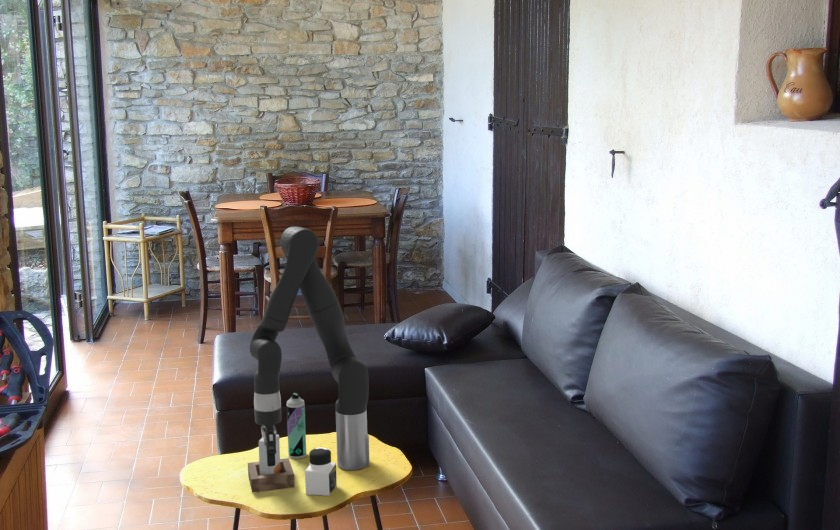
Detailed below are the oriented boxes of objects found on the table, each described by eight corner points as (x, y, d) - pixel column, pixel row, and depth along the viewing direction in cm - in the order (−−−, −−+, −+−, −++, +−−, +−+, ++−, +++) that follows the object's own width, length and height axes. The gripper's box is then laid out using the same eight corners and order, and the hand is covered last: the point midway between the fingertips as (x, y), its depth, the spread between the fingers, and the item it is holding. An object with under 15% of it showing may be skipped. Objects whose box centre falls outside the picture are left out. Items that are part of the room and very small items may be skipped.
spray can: (291, 451, 279) (288, 390, 275) (308, 452, 278) (306, 391, 275) (286, 458, 274) (283, 396, 270) (303, 459, 273) (301, 396, 269)
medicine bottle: (330, 496, 247) (328, 455, 245) (305, 494, 249) (303, 454, 246) (337, 485, 254) (335, 445, 252) (312, 484, 255) (311, 444, 253)
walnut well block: (289, 470, 265) (288, 458, 264) (294, 487, 253) (294, 474, 253) (248, 475, 262) (247, 462, 261) (252, 492, 250) (251, 479, 249)
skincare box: (273, 482, 254) (272, 442, 252) (259, 480, 255) (257, 441, 252) (281, 473, 260) (279, 434, 257) (267, 472, 260) (265, 433, 258)
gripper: (283, 412, 247) (286, 468, 250) (278, 396, 261) (280, 449, 264) (256, 415, 245) (259, 472, 248) (252, 399, 259) (254, 452, 262)
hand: (269, 460), depth 256 cm, fingers closed on skincare box, 7 cm apart
